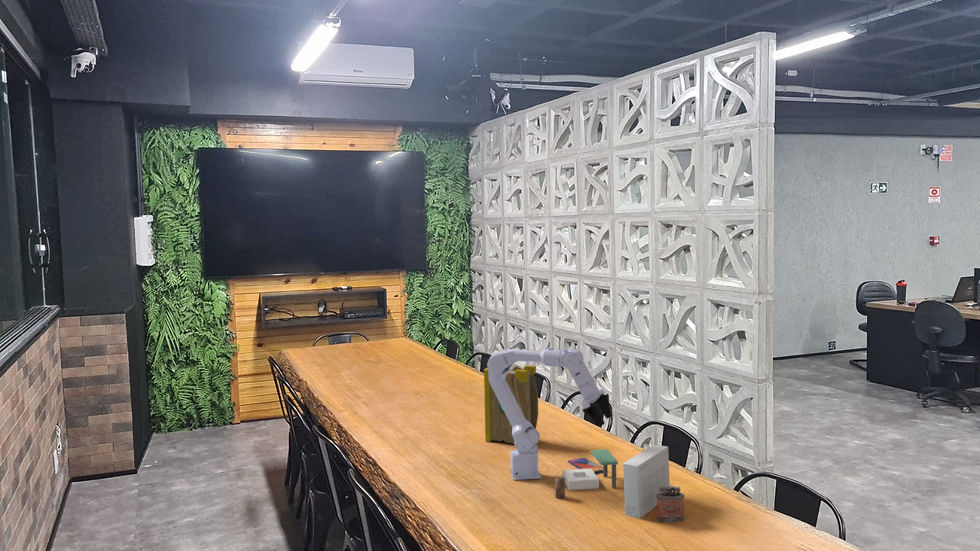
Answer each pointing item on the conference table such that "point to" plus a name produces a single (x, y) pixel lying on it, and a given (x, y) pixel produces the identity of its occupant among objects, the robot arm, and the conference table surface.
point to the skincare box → (645, 480)
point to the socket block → (580, 479)
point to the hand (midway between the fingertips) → (605, 421)
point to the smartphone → (586, 465)
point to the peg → (560, 487)
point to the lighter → (670, 504)
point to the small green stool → (606, 463)
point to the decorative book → (525, 396)
